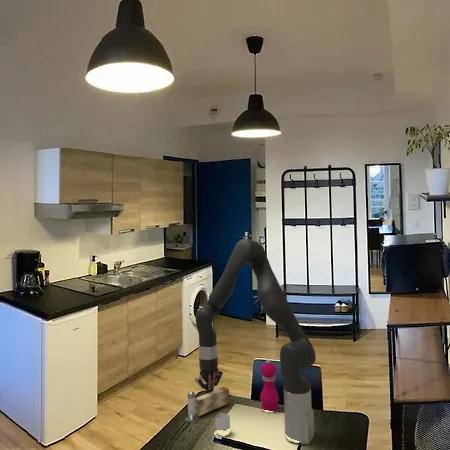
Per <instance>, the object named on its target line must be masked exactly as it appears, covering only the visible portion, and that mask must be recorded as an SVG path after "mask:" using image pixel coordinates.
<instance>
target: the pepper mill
mask: <svg viewBox="0 0 450 450" xmlns="http://www.w3.org/2000/svg"><path fill="white" fill-rule="evenodd" d="M260 372H261V374H262V376H261V377H262V380H263V388H262V390H261V392H260V397H259V400H260V402H261V410H262V409H264V410H269V411H276V412H278V409H279V407H278V405H279V404H278V403H279V401H280V397H279V394H278V391H277V389H276V387H275V380H276V374H277V367H276V365H275V364H274V363H273V362H271V359H269V358H267V359H266V360H265V362H264V363H263V364H261V367H260Z"/></svg>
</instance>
